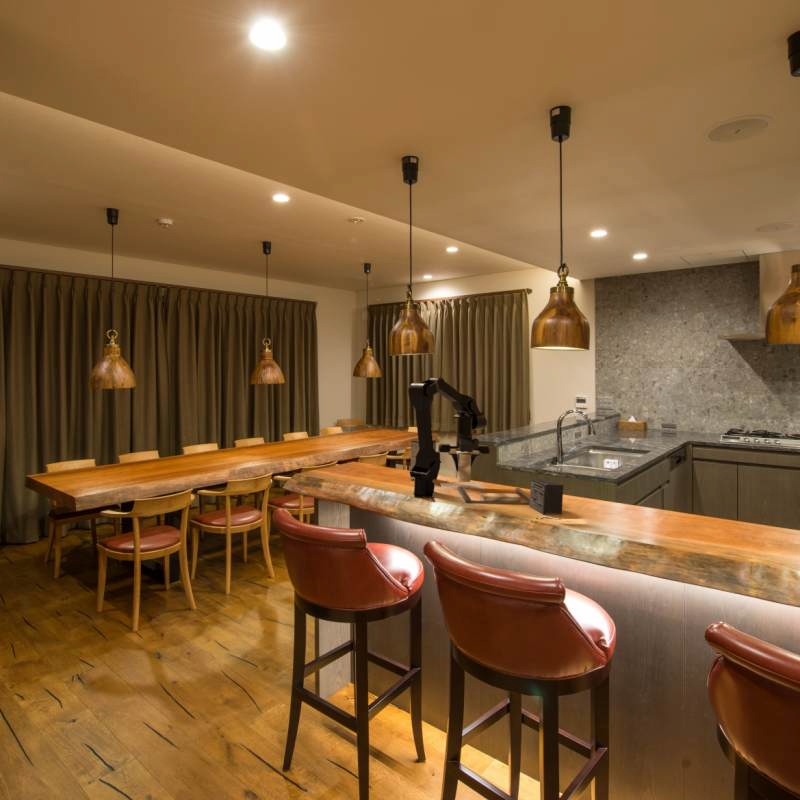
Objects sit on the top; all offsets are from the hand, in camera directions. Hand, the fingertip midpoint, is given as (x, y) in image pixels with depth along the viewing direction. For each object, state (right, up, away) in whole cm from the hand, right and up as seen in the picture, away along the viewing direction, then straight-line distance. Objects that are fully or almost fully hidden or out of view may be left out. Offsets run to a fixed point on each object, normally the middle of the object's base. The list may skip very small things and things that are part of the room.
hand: (462, 471), depth 196 cm
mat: (0, -6, 0) cm, 6 cm away
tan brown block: (0, -3, 0) cm, 3 cm away
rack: (+8, -7, -20) cm, 22 cm away
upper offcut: (+9, -6, -26) cm, 28 cm away
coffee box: (-15, -6, +17) cm, 23 cm away
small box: (+21, -8, -37) cm, 43 cm away
